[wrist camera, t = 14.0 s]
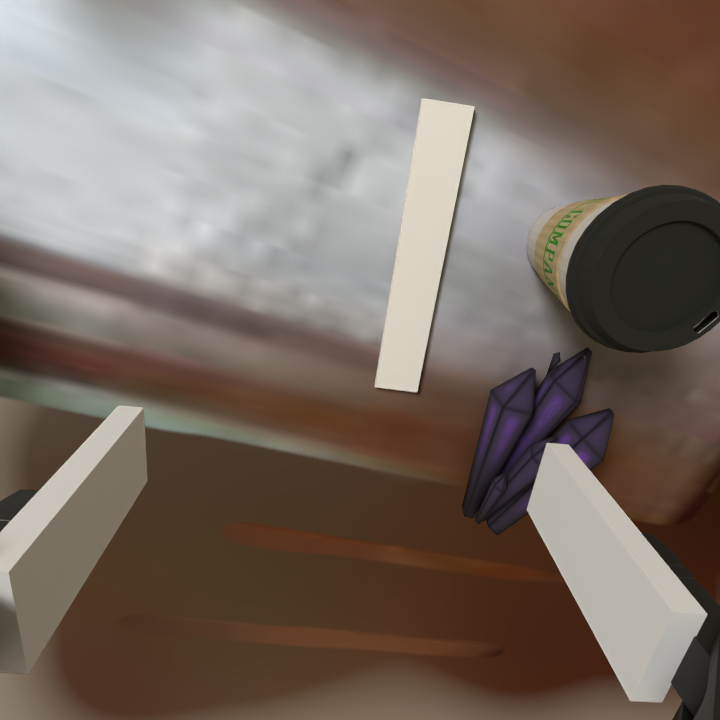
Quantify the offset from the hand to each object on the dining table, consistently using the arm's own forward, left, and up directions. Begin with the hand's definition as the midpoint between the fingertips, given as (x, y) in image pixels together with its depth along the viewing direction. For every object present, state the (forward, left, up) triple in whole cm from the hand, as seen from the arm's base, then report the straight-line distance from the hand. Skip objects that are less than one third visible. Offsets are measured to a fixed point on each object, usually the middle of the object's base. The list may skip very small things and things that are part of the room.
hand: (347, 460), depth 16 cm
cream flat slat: (+5, +3, -28) cm, 28 cm away
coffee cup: (+17, +6, -28) cm, 33 cm away
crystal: (+18, -12, -28) cm, 36 cm away
